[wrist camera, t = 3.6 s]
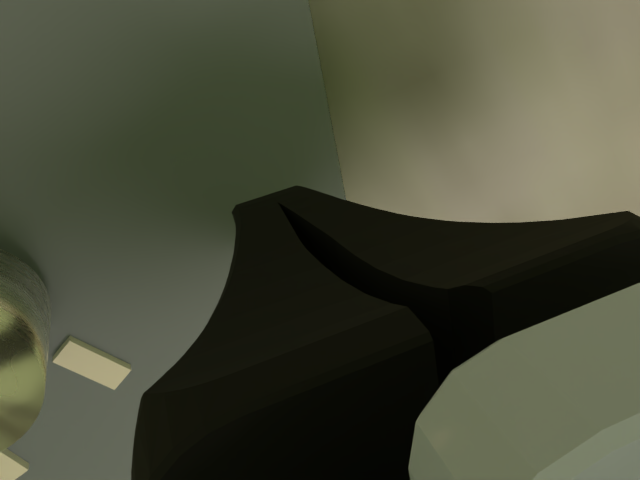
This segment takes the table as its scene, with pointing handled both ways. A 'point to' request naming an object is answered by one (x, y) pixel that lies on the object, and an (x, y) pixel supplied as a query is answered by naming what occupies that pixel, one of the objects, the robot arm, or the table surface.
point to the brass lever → (21, 346)
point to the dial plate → (141, 189)
